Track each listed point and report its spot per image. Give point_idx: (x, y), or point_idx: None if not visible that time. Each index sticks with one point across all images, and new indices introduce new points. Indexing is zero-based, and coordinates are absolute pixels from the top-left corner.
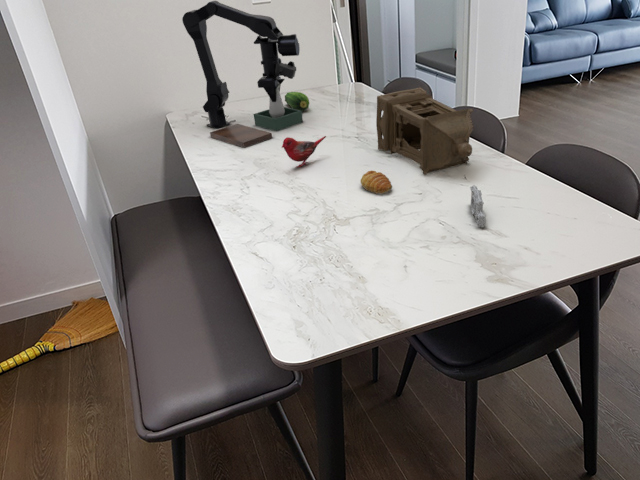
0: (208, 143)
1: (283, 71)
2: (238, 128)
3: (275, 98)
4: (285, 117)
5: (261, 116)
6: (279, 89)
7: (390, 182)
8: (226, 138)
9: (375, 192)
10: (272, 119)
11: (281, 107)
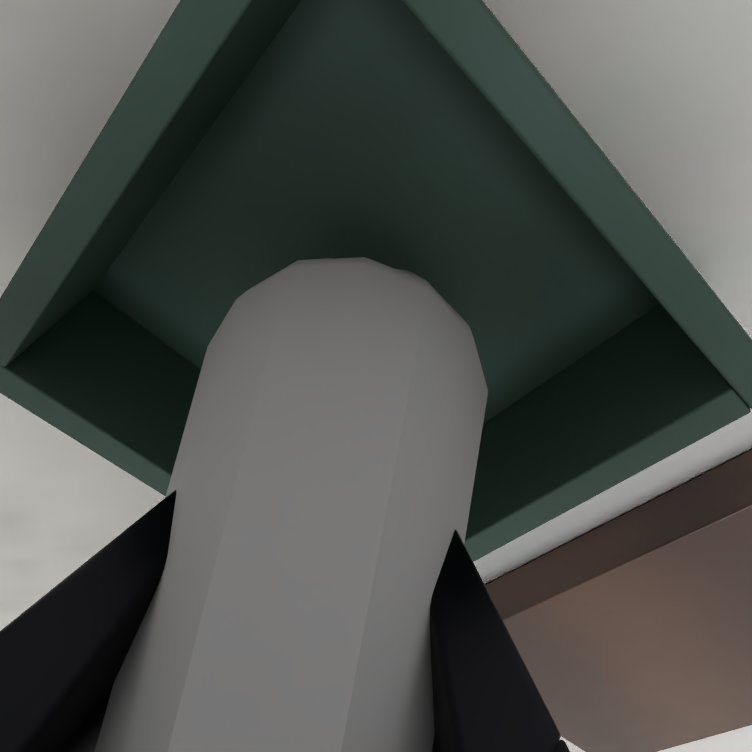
0: (743, 729)
1: None
2: (597, 645)
3: (496, 624)
4: (651, 214)
5: (488, 549)
6: (9, 717)
7: None
8: None
9: None
10: (713, 420)
11: (421, 356)
